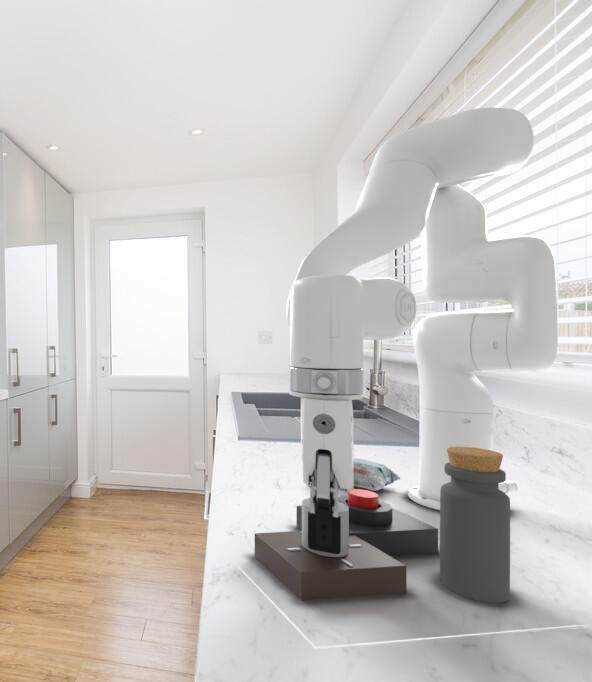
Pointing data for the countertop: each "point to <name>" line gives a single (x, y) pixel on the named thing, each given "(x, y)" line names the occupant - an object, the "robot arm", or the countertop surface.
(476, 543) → the bottle
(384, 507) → the push button base
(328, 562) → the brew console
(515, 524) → the countertop surface
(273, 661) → the countertop surface
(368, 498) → the power button
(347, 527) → the dial
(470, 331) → the robot arm
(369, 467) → the packaged food
